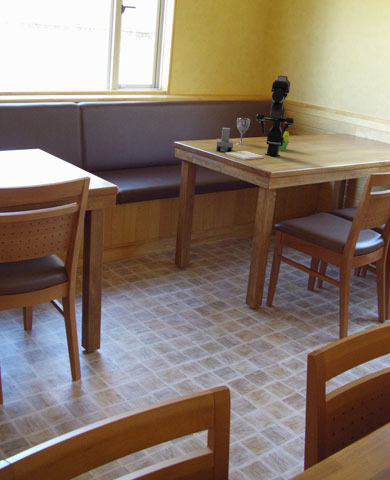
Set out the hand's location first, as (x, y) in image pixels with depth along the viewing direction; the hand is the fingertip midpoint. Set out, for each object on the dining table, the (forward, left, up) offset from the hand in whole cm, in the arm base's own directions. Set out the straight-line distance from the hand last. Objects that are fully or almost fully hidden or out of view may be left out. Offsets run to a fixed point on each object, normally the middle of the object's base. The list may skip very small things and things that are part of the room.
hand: (272, 136), depth 308 cm
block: (-7, -39, -16) cm, 43 cm away
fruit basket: (-47, -31, -16) cm, 59 cm away
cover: (-7, -39, -16) cm, 43 cm away
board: (-8, -24, -16) cm, 30 cm away
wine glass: (-35, -52, -16) cm, 65 cm away
